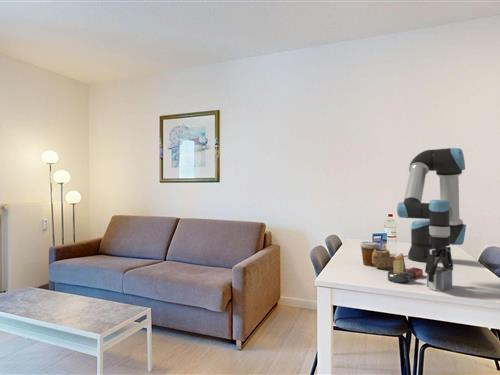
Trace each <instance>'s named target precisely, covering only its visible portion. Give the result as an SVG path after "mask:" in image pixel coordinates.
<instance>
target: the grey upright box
mask: <svg viewBox="0 0 500 375" xmlns="http://www.w3.org/2000/svg"><path fill="white" fill-rule="evenodd" d="M435 275H436V291H437V290H438V291H441V292H446V291H449V290H452V289H453V270H452V269H449V268H444V267H443V266H439V265H437V268H436V272H435ZM426 287H427V288H429V274H428V273H426Z"/></svg>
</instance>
